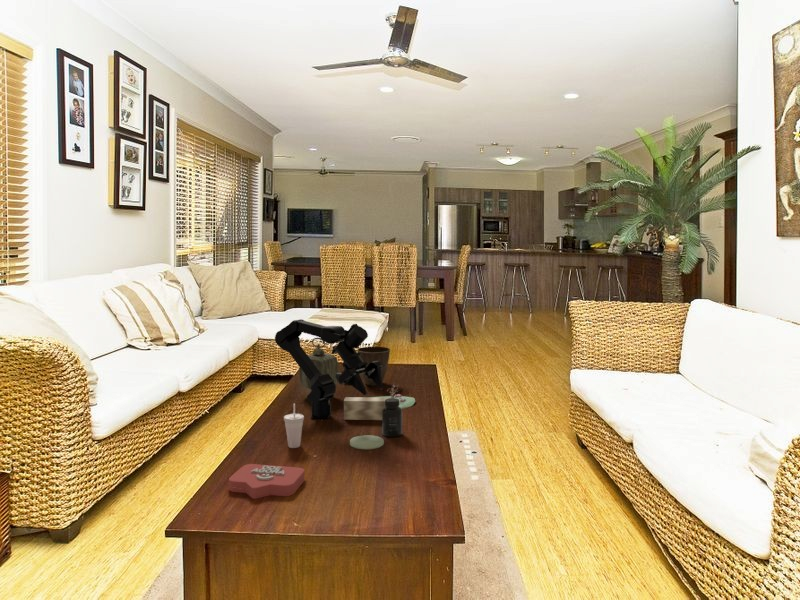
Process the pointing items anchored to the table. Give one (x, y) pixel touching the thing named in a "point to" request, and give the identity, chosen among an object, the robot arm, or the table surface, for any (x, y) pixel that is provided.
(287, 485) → the plaque
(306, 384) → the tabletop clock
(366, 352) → the plant pot
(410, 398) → the decorated green tray
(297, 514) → the table surface
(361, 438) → the green pad
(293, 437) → the smoothie
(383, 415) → the supplement bottle
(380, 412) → the block
